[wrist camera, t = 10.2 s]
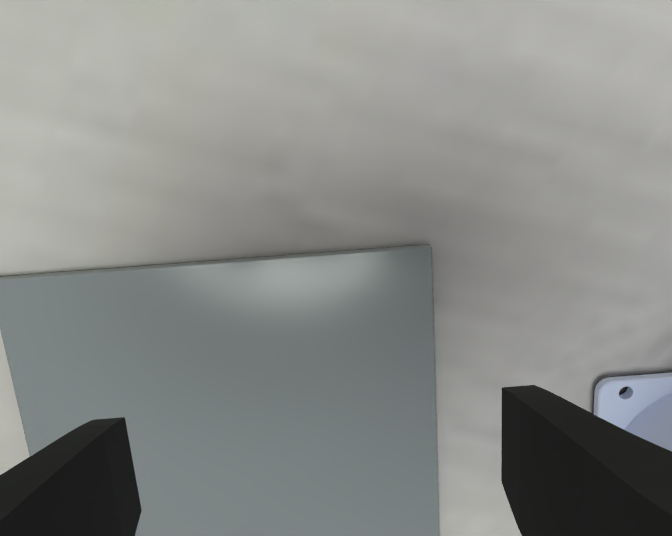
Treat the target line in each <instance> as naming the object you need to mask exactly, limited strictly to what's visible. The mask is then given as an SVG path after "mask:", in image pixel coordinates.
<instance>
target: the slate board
mask: <svg viewBox="0 0 672 536" xmlns="http://www.w3.org/2000/svg"><path fill="white" fill-rule="evenodd" d="M0 330H1V334H2V338H3V343H4V347H5V351H6V355H7V360H8V364H9V368H10V373H11V377H12V381H13V386H14V390H15V394H16V399H17V403H18V407H19V411H20V416H21V420H22V424H23V429H24V433H25V437H26V442H27V446H28V450H29V455H30V456H32V455H33V454H35V453H37V452H38V451H40V450H41V449H43V448H45V447H46V446H48V445H49V444H51V443H52V442H54V441H56V440H57V439H59V438H60V437H62V436H64V435H65V434H67V433H69V432H70V431H72V430H74V429H76V428H77V427H79V426H81V425H83V424H85V423H87V422H89V421H91V420H96V419H108V418H121V417H125V421H126V426H127V432H128V437H129V443H130V449H131V454H132V460H133V465H134V471H135V476H136V482H137V487H138V493H139V498H140V504H141V509H142V511H141V515H140V518H139V522H138V526H137V530H136V533H135V536H439V501H438V465H437V429H436V393H435V357H434V322H433V286H432V250H431V247H430V245H415V246H402V247H389V248H375V249H362V250H348V251H335V252H322V253H308V254H295V255H282V256H268V257H255V258H242V259H228V260H215V261H202V262H188V263H175V264H162V265H148V266H135V267H122V268H108V269H95V270H82V271H68V272H55V273H42V274H28V275H15V276H2V277H0Z"/></svg>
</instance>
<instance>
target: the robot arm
mask: <svg viewBox="0 0 672 536" xmlns="http://www.w3.org/2000/svg"><path fill="white" fill-rule="evenodd" d="M626 386H627V387H628V388H627V391H626V392H625V393H624V394H621V395H619V392H620V390H621V389H622V388H623V387H626ZM502 484H503V487H504V490H505V493H506V495H507V498H508V501H509V504H510V507H511V509H512V512H513V515H514V517H515V520H516V523H517V525H518V528H519V530H520V532H521V534H522V536H672V373H659V374H646V375H634V376H621V377H608V378H605V379H602V380H601V381H599V382H598V384H597V385H596V388H595V394H594V414H592V413H590V412H588V411H586V410H584V409H582V408H580V407H579V406H577V405H575V404H573V403H571V402H569V401H567V400H565V399H563V398H561V397H559V396H557V395H555V394H553V393H551V392H549V391H547V390H545V389H542V388H540V387H537V386H535V385H530V386H517V387H504V388H502ZM141 511H142V509H141V504H140V498H139V493H138V487H137V482H136V476H135V471H134V465H133V460H132V454H131V449H130V443H129V437H128V432H127V426H126V421H125V417H121V418H108V419H96V420H91V421H89V422H87V423H85V424H83V425H81V426H79V427H77V428H76V429H74V430H72V431H70V432H69V433H67V434H65V435H64V436H62V437H60V438H59V439H57V440H56V441H54V442H52V443H51V444H49V445H48V446H46V447H45V448H43V449H41V450H40V451H38V452H37V453H35V454H33V455H32V456H30V457H29V458H27V459H26V460H24V461H22V462H21V463H19V464H18V465H16V466H14V467H13V468H11V469H10V470H8V471H6V472H5V473H3V474H2V475H0V536H135V533H136V530H137V526H138V522H139V518H140V515H141Z"/></svg>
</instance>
